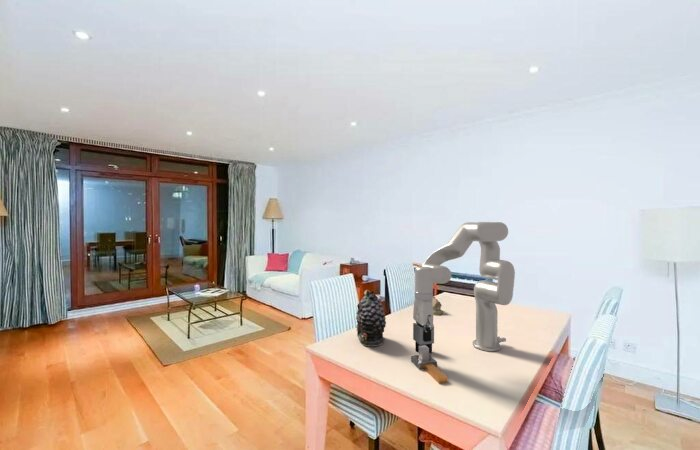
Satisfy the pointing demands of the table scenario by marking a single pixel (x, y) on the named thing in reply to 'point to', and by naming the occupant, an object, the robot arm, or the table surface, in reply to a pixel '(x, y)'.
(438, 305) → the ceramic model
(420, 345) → the battery
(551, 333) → the table surface
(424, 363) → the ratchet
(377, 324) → the dark pine cone
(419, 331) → the hollow square tube
